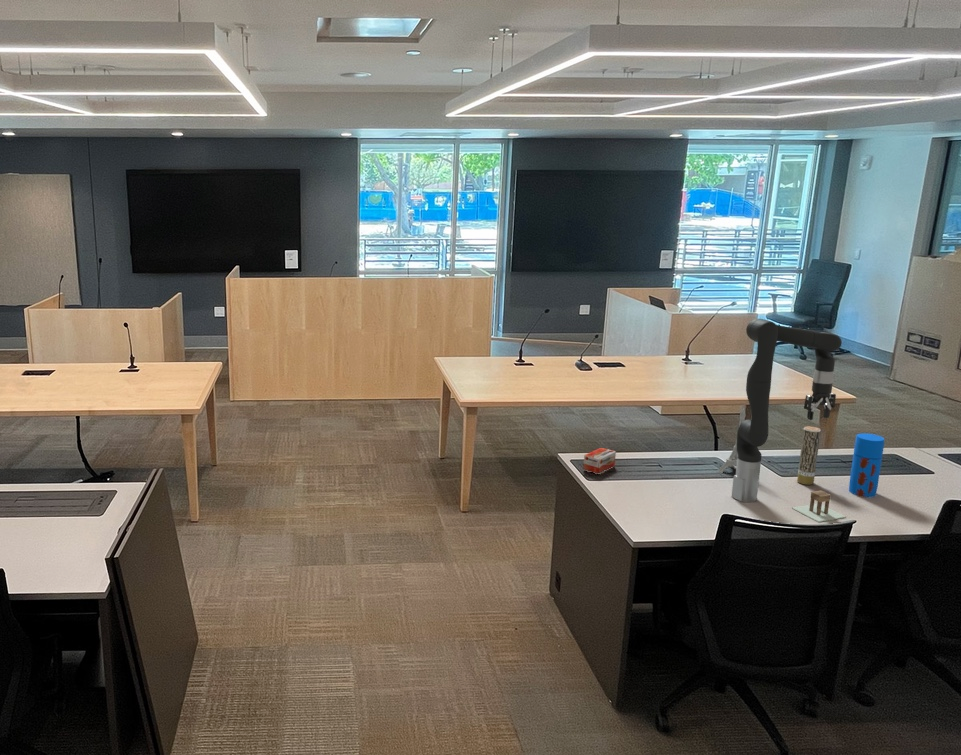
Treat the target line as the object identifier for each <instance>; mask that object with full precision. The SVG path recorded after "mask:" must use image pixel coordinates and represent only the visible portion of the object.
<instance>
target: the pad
mask: <svg viewBox="0 0 961 755" xmlns="http://www.w3.org/2000/svg"><path fill="white" fill-rule="evenodd" d="M809 508H810V504H806V505H800V506H799V505H798V506H795V507H794V506H793V507H792V508H791V509H792V510H794V511H796V512H797V513H800V514H802V515H804V516H805V517H808V518H809V519H811V520H813V521H815V522H817V523H822V522H829V521H835V520H839V519H841V520H842V519H846V518H847V516H846V515H843V514H842V513H840V512H838V511H835V510H833V509H831V508H830V507H829V508H828V514H825V513H824V508H825V505H824V504H822V506H821V514H820V515H817V503H814V508H813V511H812V512H811V511H809Z"/></svg>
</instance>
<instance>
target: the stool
mask: <svg viewBox="0 0 961 755" xmlns="http://www.w3.org/2000/svg"><path fill="white" fill-rule="evenodd" d="M815 501H816V502H817V503H816V504H817V515H820V514H821V506H822V505H823V503H824V506H825V508H824V513H825V514H828V508H829V509H830V507H829V506H830V501H831V494H830V493H827V492H826V491H824V490H816V491H811V492H810V502H809V505H810V508H809V511H811V512H812V511H813V508H814V504H815Z"/></svg>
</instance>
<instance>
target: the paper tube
mask: <svg viewBox="0 0 961 755" xmlns="http://www.w3.org/2000/svg"><path fill="white" fill-rule="evenodd" d="M802 431H803V432H802V440H801V447H800V448H801V449H800V457H799V464H798V469H797V470H798V472H797V482H798V483H799V484H801V485H805V486H811V485H813V484H814V482H815V475H816V469H817V460H818V453H819V446H820V440H821V439H820V438H821V428H819V427H815V426H808V425H807V426H804V427H803V430H802Z"/></svg>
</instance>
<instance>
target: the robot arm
mask: <svg viewBox="0 0 961 755" xmlns="http://www.w3.org/2000/svg"><path fill="white" fill-rule="evenodd" d="M745 331H746V335H747V337H748V338H749V339H750V340H752V341H753V342H757V349H756V352H757V353H756V356H755V358H754V359H755V360H754V361H753V363H752V364H751V366H750V367H749V369H748V372H747V375H746V385H745V392H746V396H747V400H748V404H749V407H750V412H751V416H750V419H744V421H743V422H742V423H741V424H740V423H739V425H740V426H739V425H738V429H737V435H736V439H737V453H738V459H737V467H736V470H735V474H734V475H733V479H732V480H733V481H732V487H731V498H734V499H736V500H737V501H738V502H745V503H754V502H756V501H757V500H758V498H757V497H758V491H759V482H760V476H761V474H760V473H761V465H762V458H763V457H762V455H763V454H762V453H761V451H760V449H759V448H758V447H762V446H763V445H765V443H766V442H767V439H768V437H769V408H770V406H769V405H770V394H771V388H772V387H771V385H772V374H773V364H774V357H775V351H776V347H777V341H778V342H781V343H786V344H790V345H793V346H798V347H805V348H806V347H807V348H813V349H814V352H815V353H814V354H815V367H814V372H813V377H812V383H811V384H812V385H811V392H812V395H809V394H806V395H805V397H804V398H805V399H804V406H803V410H806V411H807V415H806V418H807V420H809V421H813V420H814V412H815V409H816V408H818V407H819V406H822V405H823V406H824V408H823V416H822V417H823V418H824V419H829V418H830V415H831V414H830V413H831V410H832V409H834V408H835V407H836V398H837V394H836V393H833V392H832V390H833V384H834V377H835V376H834V372H835V371H834V370H835V362H836V360H835V357H833V356H832V355H831V352H836V351H837V350H839V349H840V348H841V347H842V344H843V343H842V338H841V337H840V336H839V335H838V334H835V333H831V332H827V331H820V332H819V331H816V330H812V329H806V328H799V327H793V326H792V327H791V326H785V325H779V324H776V323H775V322H773V321H770V320H768V319H764V318H754V319H752V320H751V321H749V323H748V324H747V325H746V330H745Z"/></svg>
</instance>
